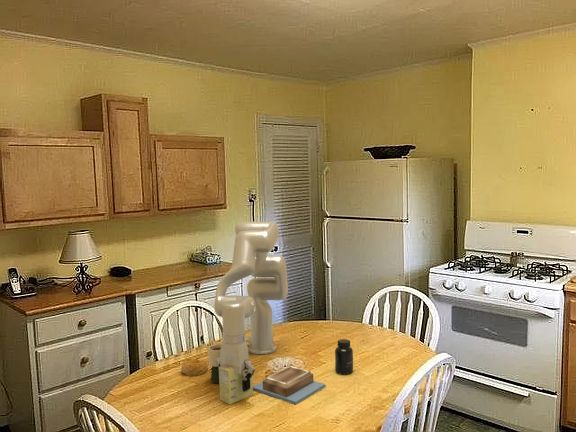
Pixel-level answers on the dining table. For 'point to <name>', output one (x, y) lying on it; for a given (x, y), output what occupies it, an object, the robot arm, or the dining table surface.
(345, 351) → the supplement bottle
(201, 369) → the bagel
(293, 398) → the board
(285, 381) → the tray
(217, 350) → the character mug
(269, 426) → the dining table surface
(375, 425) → the dining table surface
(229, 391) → the box
